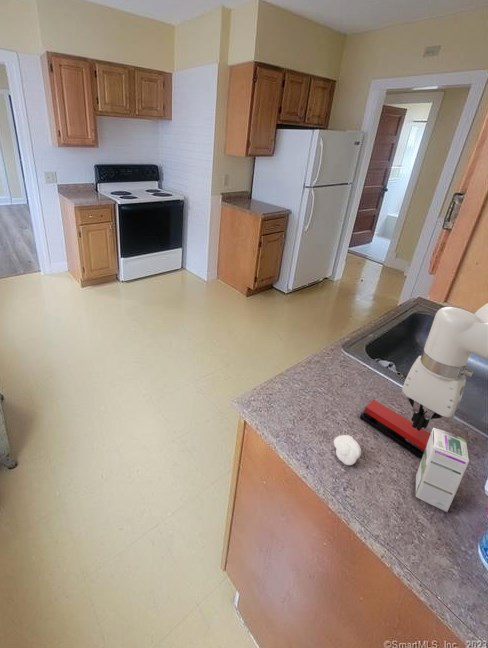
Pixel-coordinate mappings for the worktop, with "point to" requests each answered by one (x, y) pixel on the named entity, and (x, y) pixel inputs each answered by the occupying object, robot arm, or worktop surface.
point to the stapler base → (393, 435)
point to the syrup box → (441, 469)
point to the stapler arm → (397, 424)
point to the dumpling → (347, 449)
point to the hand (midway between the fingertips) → (418, 426)
